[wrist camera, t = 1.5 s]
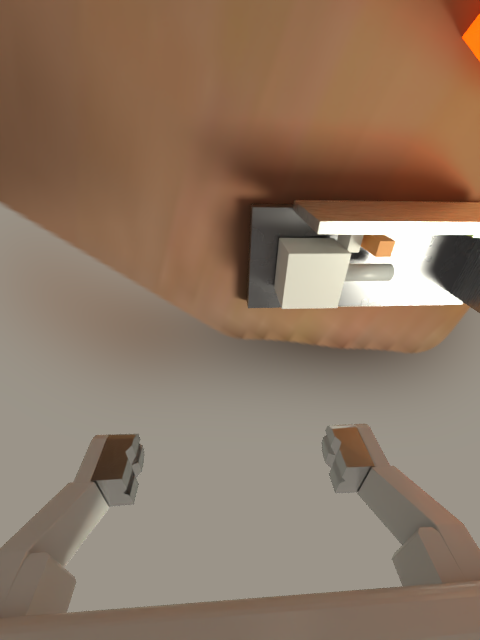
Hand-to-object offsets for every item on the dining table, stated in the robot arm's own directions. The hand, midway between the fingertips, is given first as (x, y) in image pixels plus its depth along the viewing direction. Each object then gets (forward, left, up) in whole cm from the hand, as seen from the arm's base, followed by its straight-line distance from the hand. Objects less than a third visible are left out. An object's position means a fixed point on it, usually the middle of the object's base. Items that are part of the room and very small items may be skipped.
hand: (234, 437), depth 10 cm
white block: (+10, +1, -18) cm, 20 cm away
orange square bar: (+12, +3, -18) cm, 22 cm away
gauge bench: (+14, 0, -20) cm, 24 cm away
